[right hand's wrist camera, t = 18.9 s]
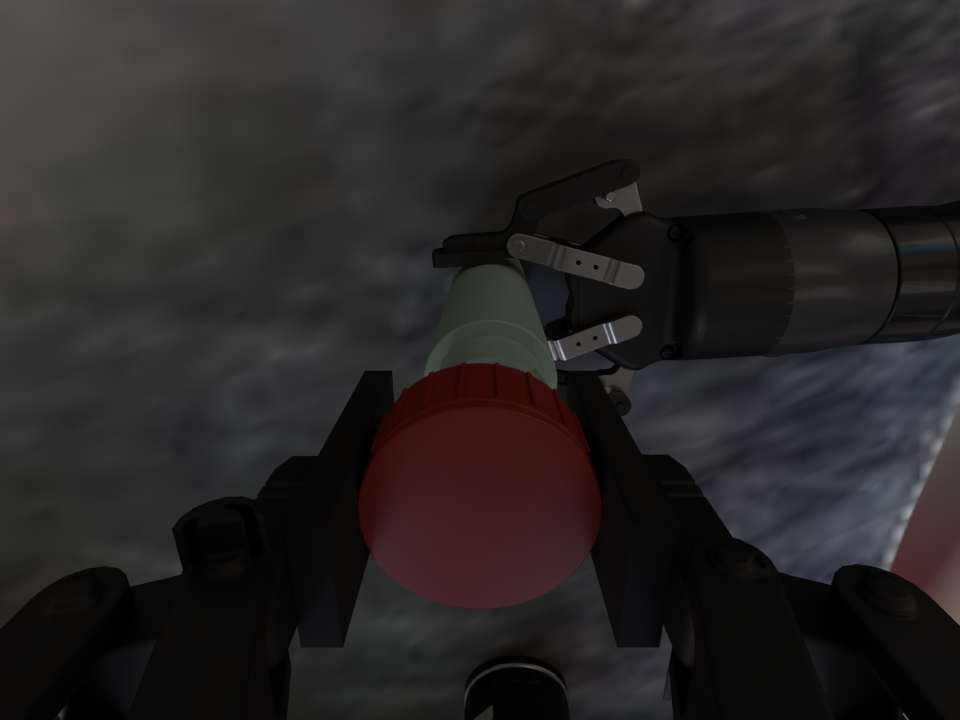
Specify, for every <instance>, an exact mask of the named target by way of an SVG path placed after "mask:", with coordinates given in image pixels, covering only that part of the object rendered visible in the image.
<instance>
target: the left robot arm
mask: <svg viewBox="0 0 960 720" xmlns="http://www.w3.org/2000/svg"><path fill="white" fill-rule="evenodd" d="M639 172H640V170H639V166H638V164H637V163H636V162H635V161H634V160H631V159H618V160H612V161H609V162H606V163H604V164H601V165H598V166H595V167H593V168H590V169H587V170H585V171H582V172H579V173H577V174H574V175H571V176H568V177H566V178H563V179H560V180H558V181H555V182H552V183H549V184H547V185H544V186H541V187H539V188H536V189H533V190H531V191H528V192H525V193H523V194H521V195H519V196H518V198H517V199H516V202H515V210H514V213H513V217H512V220H511V223H510V224H509V226H508V227H507V228H506V229H504V230H502V231H499V232H485V233H471V234H456V235H452V236H450V237H448V238H446V239H445V240H444V241H443V248H438V249H434V251H433V252H432V259H433V267H435V268H445V267H460V266H475V265H488V264H505V259H506V258H518V259H522V260H526V261H530V262H534V263H538V264H542V265H545V266H548V267H551V268H553V269H556V270H559V271H563V272H565V280H566V283H567V287H568V290H569V295H568V299H567V303H566V316H564V317H562V318H559V319H557V320H554V321H551V322H549V323H548V324H547V325H546V326H545V327H543V330H544V333H545V336H546V339H547V342H548V345H549V348H550V351H551V354H552V357H553V360H554V361H555V360H560V361H564V360H568V359H571V358H574V357H576V356H579V355H582V354H585V353H587V352H590V351H593V350H594V351H596V352H597V353H599V354H601V355H602V356H604V357H605V358H607V359H609V360H610V361H612V362H613V363H615V364H614V366H612V367H611V368H609V369H599V370H596V371H595V372H596V373H597V375H598V377H599V379H600V381H601V382H602V384H603V386H604V388H605V390H606V391H607V393H608V395H609V397H610V399H611V400H612V402H613V404H614V406H615V408H616V409H617V411H618V413H619V415H620V416H624V415H626V414H627V413H628V412H629V411H630V409H631V403H630V401H629V399H628V397H627V394H628V391H629V388H630V385H631V382H632V379H633V376H634V373H635V370H640V369H643V368H645V367H646V366H648V365H650V364H652V363H654V362H657V361H661V360H695V359H712V358H729V357H745V356H765V357H779V356H782V355H786V354H796V353H808V352H815V351H821V350H826V349H831V348H836V347H841V346H850V345H867V344H883V343H900V342H912V341H923V340H931V339H936V338H942V337H946V336H951V335H955V334H959V333H960V201H956V202H951V203H947V204H942V205H935V206H906V207H890V208H876V209H861V210H834V209H819V208H802V209H785V210H774V211H760V212H744V213H730V214H716V215H702V216H687V217H673V218H660V217H657V216H655V215H653V214H651V213H649V212H645V211H642V207H641V203H640V199H639V194H638V190H637V186H636V182H635V181H636V180H637V179H638V177H639ZM591 199H592V200H593V202H594V204H595V205H597V206H599V207H602V208H605V209H608V208H616V209H617V210H618V211H619V213H620V216H618V217H617V218H616V219H615V220H613V221H612V222H611V223H610V224H608V225H607V226H606V227H605V228H603V229H602V230H601V231H600V232H598V233H597V234H596V235H594V236H593V237H592V238H591V239H589V240H588V241H587V242H586V243H584V244H580V243H576V242H572V241H568V240H565V239H561V238H557V237H552V236H546V235H542V234H538V233H535V230H536V227H537V224H538V221H539V218H541V217H544V216H546V215H549V214H552V213H555V212H557V211H560V210H563V209H566V208H569V207H571V206H574V205H577V204H580V203H582V202H585V201H588V200H591ZM577 342H579V343H577ZM556 372H557V390H558V393H559V396H560V397H561V398H562V400H563V401H564V402H565V403H566V398H567V383H568V371H565V370H560V369H556ZM464 706H465V720H571V719H570V712H569V699H568V692H567V687H566V684H565V681H564V679H563V678H562V676H561V675H560V674H559V673H558V672H557V671H556V670H555V669H553V668H552V667H550V666H549V665H547V664H545V663H543V662H540V661H537V660H534V659H529V658H520V657H512V658H503V659H499V660H495V661H492V662H490V663H488V664H486V665H484V666H482V667H480V668H479V669H478V670H477V671H475V672H474V673H473V674H472V676H471V677H470V678H469V680H468V682H467V684H466V687H465V695H464Z"/></svg>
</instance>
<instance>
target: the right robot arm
mask: <svg viewBox="0 0 960 720" xmlns="http://www.w3.org/2000/svg"><path fill="white" fill-rule="evenodd" d="M393 405H394V394H393V379H392V371H365V372H364V374H363V376H362V377H361V379H360V381H359V383H358V385H357V386H356V388H355V390H354V392H353V394H352V395H351V397H350V399H349V401H348V403H347V405H346V406H345V408H344V410H343V412H342V414H341V415H340V417H339V419H338V421H337V423H336V424H335V426H334V428H333V430H332V432H331V433H330V435H329V437H328V439H327V441H326V442H325V444H324V446H323V448H322V450H321V451H320V453H319V455H318V456H292V457H291V458H290V459H288V460H287V461H285V462H284V463H283V464H281V465H280V466H278V467H277V468H276V469H275V470H274V471H273V473H272V474H271V476H270V477H269V479H268V480H267V482H266V483H265V484H266V485H265V486H263V488H262V489H261V491H260V492H259V494H258V495H257V499H255V500H254V499H250V498H246V497H225V498H221V499H217V500H212V501H209V502H207V503H204V504H202V505H200V506H198V507H195V508H193V509H192V510H190V511H189V512H188V513H186V514H185V515H184V516H182V517H181V518H180V519H179V520H178V521H177V523H176V524H175V525H174V527H173V528H172V531H173V535H174V538H175V542H176V546H177V549H178V553H179V557H180V561H181V564H182V568H183V572H182V574H180V575H177V576H174V577H170V578H167V579H162V580H158V581H154V582H149V583H145V584H141V585H136V586H132V587H130V585H129V582H128V579H127V576H126V574H125V573H123V572H122V571H121V570H120V569H119V568H113V567H107V566H103V567H96V568H88V569H85V570H82V571H79V572H75V573H73V574H70V575H67V576H65V577H63V578H62V579H60V580H58V581H56V582H54V583H52V584H50V585H49V586H47V587H46V588H44V589H43V590H42V591H41V592H39V593H38V594H37V595H36V596H34V597H33V598H32V599H31V600H30V601H29V602H28V603H27V604H26V605H25V606H24V607H23V608H22V609H21V610H20V611H19V612H18V613H16V614H15V615H14V616H13V617H12V618H11V619H10V620H9V621H8V622H7V623H6V624H5V625H4V626H3V627H2V628H1V629H0V720H54V719H55V718H56V717H57V716H58V717H57V719H56V720H286V719H287V709H288V698H289V688H290V677H291V663H290V656H289V651H288V648H289V645H290V643H291V640H292V638H293V635H294V633H295V630H296V628H297V626H298V632H299V638H300V643H301V647H343V645H344V642H345V638H346V635H347V631H348V628H349V624H350V621H351V617H352V614H353V610H354V606H355V603H356V599H357V596H358V592H359V589H360V585H361V582H362V578H363V575H364V571H365V568H366V564H367V561H368V557H369V554H370V551H369V549H368V547H367V545H366V543H365V541H364V538H363V535H362V532H361V526H360V517H359V507H358V497H359V490H360V486H361V483H362V477H363V474H364V471H365V469H366V466H367V463H368V461H369V458H370V455H371V453H372V452H370V449H371V447H372V444H373V442H374V439H375V436H376V434H377V431H378V429H379V426H380V423H381V421H382V418H383V416H384V413H385V412H386V411H388V412H389V411H390V409H391V408H392V406H393ZM566 405H567V406H568V408H569V409H570V411H571V412H573V411H575V413H576V415H577V418H578V420H579V423H580V425H581V428H582V431H583V433H584V436H585V438H586V441H587V444H588V446H589V449H590V452H589V455H590V458H591V460H592V463H593V466H594V468H595V471H596V474H597V476H598V483H599V486H600V489H601V496H602V510H601V520H600V529H599V533H598V535H597V538H596V541H595V543H594V545H593V547H592V549H591V551H590V552H591V556H592V560H593V563H594V567H595V570H596V574H597V577H598V581H599V584H600V588H601V591H602V595H603V598H604V602H605V605H606V609H607V612H608V616H609V620H610V623H611V627H612V630H613V634H614V637H615V641H616V644H617V647H659V645H660V639H661V634H662V628H663V624H664V627H665V629H666V632H667V634H668V637H669V639H670V642H671V644H672V651H671V656H670V662H669V667H668V672H667V678H666V683H665V689H664V696H663V699H665V700H670V696H671V697H672V708H673V718H674V720H907V719H906V718H905V716H904V715H903V713H904V714H905V715H906V717H907V718H908V719H909V720H960V626H959V625H958V624H957V623H956V622H955V621H954V620H953V619H952V618H951V617H950V616H949V615H948V614H947V613H946V612H945V611H944V610H943V609H942V608H941V607H940V606H939V605H938V604H937V603H936V602H935V601H934V600H933V599H932V598H931V597H930V596H928V595H927V594H926V593H925V592H923V591H922V590H921V589H920V588H918V587H917V586H916V585H914V584H913V583H911V582H909V581H907V580H905V579H904V578H902V577H900V576H898V575H896V574H894V573H891V572H889V571H886V570H883V569H880V568H877V567H873V566H866V565H859V564H854V565H848V566H842V567H841V568H840V569H839V570H838V571H836V572H835V574H834V577H833V580H832V583H831V585H829V584H825V583H820V582H816V581H811V580H807V579H803V578H798V577H794V576H790V575H787V574H784V573H780V572H778V571H777V569H776V567H775V566H774V564H773V563H772V561H771V560H770V558H768V557H767V556H766V555H765V554H764V553H762V552H761V551H760V550H759V549H758V548H756V547H754V546H752V545H750V544H748V543H746V542H744V541H742V540H739V539H735V538H733V537H732V536H731V534H730V533H729V531H728V530H727V528H726V527H725V525H724V524H723V522H722V521H721V519H720V518H719V516H718V515H717V513H716V512H715V510H714V509H713V507H712V506H711V504H710V503H709V502H708V500H707V499H706V497H704V496H703V493H702V491H701V490H700V488H699V487H698V485H695V481H694V479H693V478H692V476H691V475H690V473H689V472H688V470H687V469H686V467H684V466H683V465H682V464H680V463H679V462H677V461H676V460H675V459H673V458H672V457H670V456H669V455H642V454H641V453H640V451H639V449H638V447H637V445H636V444H635V442H634V440H633V438H632V436H631V435H630V433H629V431H628V429H627V427H626V426H625V424H624V422H623V420H622V418H621V417H620V415H619V413H618V411H617V409H616V408H615V406H614V404H613V402H612V400H611V399H610V397H609V395H608V393H607V391H606V390H605V388H604V386H603V384H602V382H601V381H600V379H599V377H598V375H597V373H596V372H595V371H568V383H567V398H566Z"/></svg>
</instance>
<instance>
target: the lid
mask: <svg viewBox="0 0 960 720" xmlns="http://www.w3.org/2000/svg"><path fill="white" fill-rule="evenodd" d="M370 452H372V453H371V455H370V458H369V461H368V463H367V466H366V469H365V471H364V474H363V477H362V483H361V486H360V490H359V497H358V507H359V517H360V526H361V532H362V535H363V538H364V541H365V543H366V545H367V547H368V549H369V551H370V553H371V554H372V556H373V557H374V559H375V560H376V561H377V563H378V564H379V565H380V567H381V568H382V569H383V570H384V571H385V572H386V573H387V574H388V575H389V576H390V577H391V578H393V579H394V580H395V581H396V582H397V583H399V584H400V585H402V586H403V587H405V588H406V589H408V590H409V591H411V592H413V593H415V594H417V595H419V596H421V597H423V598H426V599H428V600H431V601H434V602H436V603H440V604H444V605H448V606H453V607H459V608H467V609H494V608H501V607H508V606H512V605H516V604H520V603H524V602H526V601H529V600H532V599H535V598H537V597H539V596H541V595H543V594H545V593H547V592H549V591H551V590H552V589H554V588H555V587H557V586H558V585H560V584H561V583H563V582H564V581H565V580H566V579H568V578H569V577H570V576H571V575H572V574H573V573H574V572H575V571H576V570H577V569H578V568H579V567H580V566H581V564H582V563H583V562H584V560H585V559H586V558H587V556H588V555H589V553H590V551H591V549H592V547H593V545H594V543H595V541H596V538H597V535H598V533H599V529H600V520H601V510H602V496H601V489H600V486H599V483H598V476H597V474H596V471H595V468H594V466H593V463H592V460H591V458H590V455H589V452H590V449H589V446H588V444H587V441H586V438H585V436H584V433H583V431H582V428H581V425H580V423H579V420H578V418H577V415H576V413H575V411H573V412H571V411H570V409H569V408H568V406H567V405H566V403H565V402H564V401H563V400H562V398H561V397H560V396H559V393H558V390H557V389H555V388H554V389H551V388H550V387H549V386H548V385H547V384H545V383H544V382H542V381H541V380H539V379H538V378H536V377H534V376H532V373H531V372H529V371H527V373H526V372H524V371H521V370H518V369H515V368H512V367H509V366H503V365H500V363H497V362H495V364H489V363H471V364H466V362H463V363H461V365H457V366H452V367H448V368H445V369H442V370H439V371H437V372H434V371H432V372H429V375H428V376H426V377H424V378H423V379H421V380H419V381H418V382H416V383H415V384H413V385H412V386H411V387H410V388H409V389H407V388H405V389H404V390H403V391H402V394H401V396H400V397H399V399H398V400H397V401H396V402H395V403H394V405H393V406H392V408H391V409H390V411H389V412H388V411H386V412H385V413H384V416H383V418H382V421H381V423H380V426H379V429H378V431H377V434H376V436H375V439H374V442H373V444H372V447H371V449H370Z"/></svg>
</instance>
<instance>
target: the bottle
mask: <svg viewBox="0 0 960 720" xmlns="http://www.w3.org/2000/svg"><path fill="white" fill-rule="evenodd" d="M463 362H466V364H471V363H489V364H495V362H497V363H500V365H503V366H509V367H512V368H515V369H518V370H521V371H524V372H526V373H527V371H529V372H531V373H532V376H534V377H536V378H538V379H539V380H541V381H542V382H544V383H545V384H547V385H548V386H549V387H550V388H551V389H554V388H555V389H557V372H556V367H555V363H554V360H553V357H552V354H551V351H550V348H549V345H548V342H547V339H546V336H545V333H544V330H543V327H542V324H541V321H540V318H539V315H538V312H537V309H536V307H535V304H534V301H533V298H532V295H531V292H530V289H529V286H528V283H527V280H526V277H525V274H524V271H523V268H522V265H521V263H520V261H519V260H518V258H506V259H505V264H488V265H475V266H460V267H457V269H456V272H455V275H454V278H453V281H452V284H451V287H450V291H449V294H448V297H447V300H446V303H445V306H444V309H443V312H442V316H441V319H440V322H439V325H438V328H437V331H436V334H435V337H434V341H433V344H432V347H431V350H430V353H429V356H428V359H427V363H426V366H425V370H424V377H426V376H428V375H429V372H432V371H434V372H437V371H439V370H442V369H445V368H448V367H452V366H457V365H461V363H463Z"/></svg>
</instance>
